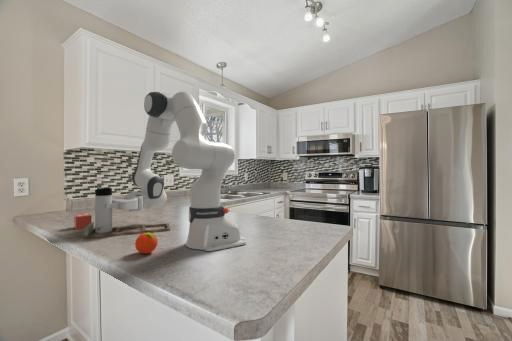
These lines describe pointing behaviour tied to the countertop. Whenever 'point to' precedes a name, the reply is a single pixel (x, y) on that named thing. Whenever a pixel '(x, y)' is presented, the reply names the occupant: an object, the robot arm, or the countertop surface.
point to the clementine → (146, 242)
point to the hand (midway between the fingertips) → (101, 205)
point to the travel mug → (103, 211)
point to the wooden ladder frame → (90, 229)
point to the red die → (81, 221)
